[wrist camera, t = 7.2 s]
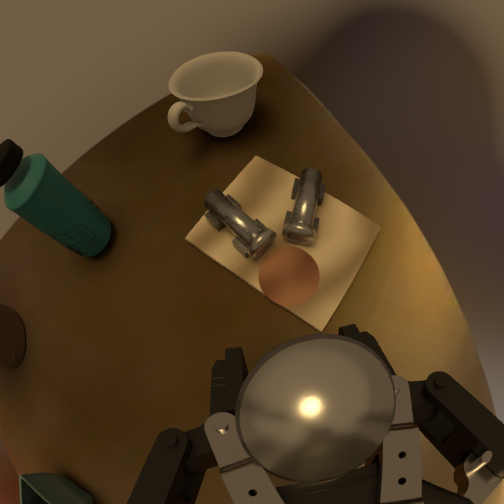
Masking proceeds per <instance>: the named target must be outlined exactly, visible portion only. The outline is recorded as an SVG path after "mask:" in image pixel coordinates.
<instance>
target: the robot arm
mask: <svg viewBox="0 0 504 504" xmlns="http://www.w3.org/2000/svg"><path fill="white" fill-rule="evenodd" d="M339 335H341V336H346V337H349V338H352V339H355V340H357V341H359V342H361V343H363V344H365V345H366V346H368V347H369V348H371V349H372V350H373V351H374V352H375V353H376V354H377V355H378V356H379V357H380V358H381V359H382V360H383V362H384V363H385V364H386V366H387V368H388V370H389V372H390V373H391V376H392V379H393V382H394V386H395V392H396V408H395V414H394V419H393V422H392V425H391V427H390V430H389V432H388V434H387V435H386V436H385V438H384V439H383V441H382V444H381V445H380V447H379V448H378V449H377V450H376V451H375V453H374V454H373V455H372V456H371V457H370V458H369V459H367V460H366V462H365V466H364V467H361V468H358V469H355V470H352V471H351V472H349V473H347V474H345V475H343V476H341V477H339V478H337V479H336V480H334V481H332V482H329V483H299V484H293V485H287V486H281V487H276V489H275V487H274V486H273V484H272V482H271V481H270V479H269V477H268V475H267V474H266V472H265V470H264V469H263V467H262V466H261V467H260V466H259V465H257V464H256V463H255V462H254V461H253V460H252V459H251V458H250V456H249V455H248V454H247V452H246V451H245V449H244V448H243V446H242V444H241V442H240V439H239V437H238V433H237V430H236V423H235V408H236V403H237V398H238V395H239V392H240V389H241V387H242V385H243V383H244V381H245V379H246V377H247V376H248V370H247V365H246V362H245V358H244V354H243V351H242V347H241V346H240V347H233V348H226V351H225V360H217V361H216V362H215V364H214V366H213V368H212V380H211V405H210V416H209V418H208V419H207V421H206V422H205V423H204V424H203V425H202V426H200V427H198V428H196V429H193V430H189V431H186V432H183V431H181V430H179V429H175V428H170V429H166V430H164V431H162V432H161V433H160V434H159V435H158V437H157V438H156V441H155V443H154V445H153V447H152V449H151V451H150V454H149V456H148V458H147V460H146V462H145V465H144V467H143V469H142V471H141V473H140V476H139V478H138V480H137V482H136V484H135V487H134V489H133V491H132V493H131V496H130V498H129V500H128V502H127V504H195V501H196V498H197V496H198V493H199V490H200V487H201V484H202V481H203V478H204V475H205V472H206V469H209V468H212V467H215V466H218V465H219V467H220V473H221V476H222V478H223V481H224V483H225V485H226V487H227V489H228V492H229V494H230V496H231V498H232V500H233V502H234V504H482V503H483V502H484V501H485V499H486V498H487V497H488V496H489V495H490V494H491V493H492V491H493V490H494V489H495V488H496V487H497V485H498V484H499V483H500V482H501V481H502V479H503V478H504V424H503V423H502V422H501V421H500V420H499V419H498V418H497V417H495V416H494V415H493V414H492V413H491V412H490V411H489V410H488V409H487V408H486V407H485V406H483V405H482V404H481V403H480V402H479V401H478V400H477V399H476V398H475V397H473V396H472V395H471V394H470V393H469V392H468V391H467V390H466V389H464V388H463V387H462V386H461V385H460V384H459V383H458V382H457V381H455V380H454V379H453V378H452V377H451V376H450V375H448V374H447V373H445V372H441V371H438V372H434V373H432V374H430V375H429V376H428V378H427V380H423V381H406V380H405V379H404V378H402V377H400V376H397V375H396V374H395V372H394V370H393V368H392V367H391V365H390V363H389V362H388V360H387V358H386V356H385V355H384V353H383V352H382V350H381V348H380V346H379V345H378V343H377V341H376V340H375V338H374V337H373V336H372V335H371V334H369V333H368V332H366V331H365V332H361V333H360V332H359V330H358V328H357V327H356V325H355V324H351V325H347V326H343V327H339ZM24 351H25V330H24V326H23V323H22V320H21V318H20V316H19V315H18V314H17V313H16V312H15V311H13V310H9V308H8V306H5V305H2V304H0V366H9V367H15V366H17V365H19V364H20V362H21V361H22V358H23V356H24ZM419 430H420V431H421V432H422V433H423V434H424V436H425V437H426V438H427V439H428V440H429V441H430V442H431V443H432V444H433V445H434V446H435V447H436V449H437V450H438V451H439V452H440V453H441V454H442V455H443V456H444V457H445V458H446V459H447V460H448V461H449V463H450V464H451V465H452V466H453V467H454V468H455V471H454V482H455V483H456V484H457V487H458V493H457V494H456V493H454V492H451V491H448V490H446V489H444V488H441V487H439V486H436V485H434V484H432V483H429V482H427V481H425V480H423V479H422V469H421V447H420V434H419Z"/></svg>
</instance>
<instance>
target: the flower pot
mask: <svg viewBox="0 0 504 504" xmlns="http://www.w3.org/2000/svg"><path fill="white" fill-rule="evenodd" d="M19 489H20V504H92V501H93V498H92V497H91V496H90V495H89V494H87V493H86V492H85V491H83V490H82V489H80V488H79V487H78V486H77V485H75V484H74V483H73V482H72V481H70V480H69V479H68V478H65V477H63V476H60V475H57V474H53V473H33V474H23V475H19Z"/></svg>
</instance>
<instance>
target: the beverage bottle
mask: <svg viewBox="0 0 504 504" xmlns="http://www.w3.org/2000/svg"><path fill="white" fill-rule="evenodd" d="M22 157H23V150H22V148H21V147H20V146H18V145H17V144H15V143H14V142H13V141H12V140H10V139H7V140H5V141H4V142H3V143H1V144H0V187H1V186H3V185H4V184H5V187H4V199H5V204H6V206H7V208H8V209H9V210H11V211H13V212H15V213H16V214H18V215H19V216H21V217H22V218H23V219H25V220H26V221H28V222H29V223H31V224H32V225H34V226H35V227H36V228H38V229H39V230H41V231H42V232H44V233H45V234H47V235H48V236H50V237H52V238H53V239H55V240H56V241H58V242H59V243H61V244H63V245H64V246H66V247H67V248H68V249H70V251H72V252H74V253H75V252H76V253H75V254H77V253H78V254H80V256H84V257H92V256H95V255H97V254H98V253H100V252H101V251H102V250H103V249H104V248H105V246H106V245H107V243H108V241H109V238H110V235H111V225H110V221H109V220H108V218H107V216H106V215H105V214H103V213H104V212H103V211H102V210H101V211H102V212H101V211H100V208H99V207H98V206H97V205H96V204H95V203H94V204H95V205H96V206H97V207H98V208H97V207H96V206H95V205H94V204H93V203H92V202H91V201H89V200H88V199H89V198H88V197H87V196H86V197H87V198H88V199H87V198H86V197H85V196H84V195H85V194H84V195H83V194H82V192H80V191H81V190H80V189H77V188H76V187H75V186H74V185H72V184H71V183H70V182H69V181H68V180H67V179H66V178H65V177H64V176H63V175H62V174H61V173H60V172H59V171H58V170H57V169H56V168H55V167H54V166H53V165H52V164H51V163H50V162H49V161H48V160H47V159H46V157H45V156H44V155H43V154H40V153H36V154H32V155H29V156H26V157H24V158H22ZM79 190H80V191H79ZM44 233H43V234H44ZM53 239H52V240H53ZM61 244H60V245H61ZM66 247H65V248H66Z"/></svg>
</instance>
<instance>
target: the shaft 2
mask: <svg viewBox="0 0 504 504" xmlns="http://www.w3.org/2000/svg"><path fill="white" fill-rule="evenodd" d="M321 180H322V174H321V172H320V171H318V170H316V169H313V168H306V169H304V170H302V173H301V177H300V179H299V178H295V181H294V185H293V189H292V195H291V199H293V200H295V203H294V207H293V211H292V212H291V211H287V213H286V217H285V221H284V225H283V231H282V236H283V237H284V238H285V239H287V240H289V241H291V242H293V243H297V244H304V245H307V244H312V243H314V241H315V238H316V235H317V230H318V225H319V220H320V218H317V217H315V212H316V207H317V205H319V206H321V205H322V202H323V198H324V192H325V186H326V185H325V184H321Z"/></svg>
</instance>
